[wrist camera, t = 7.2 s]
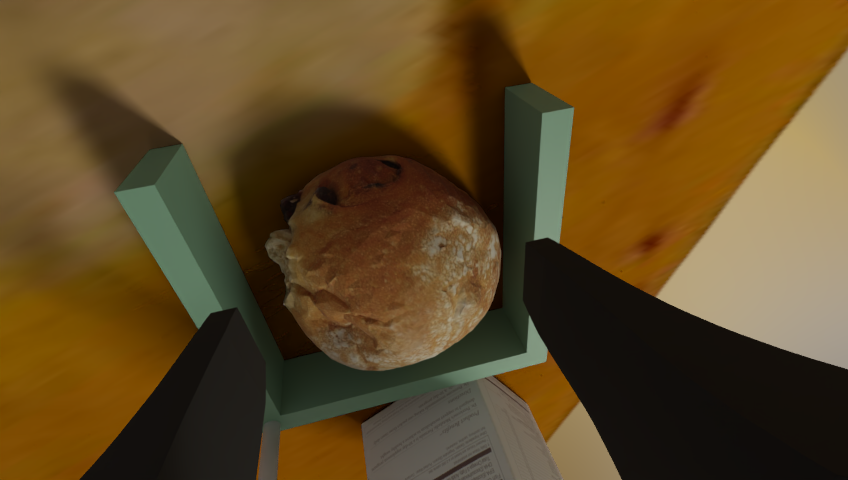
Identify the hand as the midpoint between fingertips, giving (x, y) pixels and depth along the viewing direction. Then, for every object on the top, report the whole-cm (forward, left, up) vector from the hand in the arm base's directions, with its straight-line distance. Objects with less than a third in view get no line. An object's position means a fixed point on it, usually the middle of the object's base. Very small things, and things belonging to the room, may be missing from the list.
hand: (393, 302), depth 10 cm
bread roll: (0, -5, -9) cm, 10 cm away
